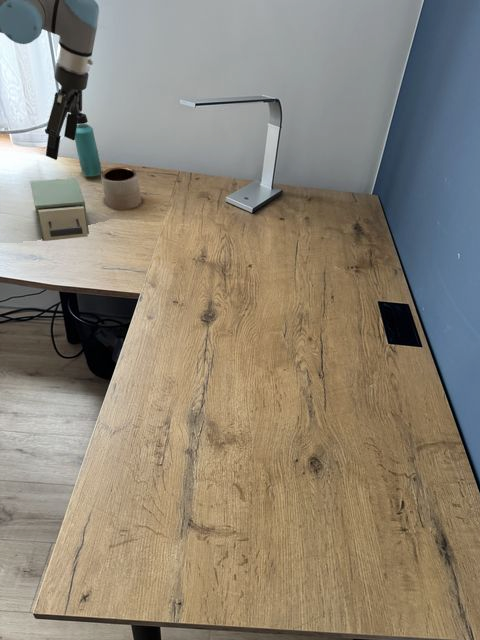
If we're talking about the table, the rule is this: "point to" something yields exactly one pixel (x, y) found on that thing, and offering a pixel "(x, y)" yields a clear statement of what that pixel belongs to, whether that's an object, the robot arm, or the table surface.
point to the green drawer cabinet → (57, 195)
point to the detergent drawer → (63, 222)
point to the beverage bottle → (87, 148)
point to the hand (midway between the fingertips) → (60, 147)
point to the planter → (121, 188)
